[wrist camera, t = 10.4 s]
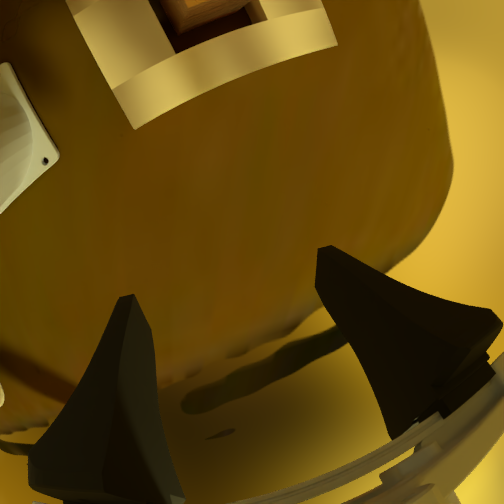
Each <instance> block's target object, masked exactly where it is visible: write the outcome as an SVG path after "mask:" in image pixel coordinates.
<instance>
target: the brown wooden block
mask: <svg viewBox="0 0 504 504" xmlns="http://www.w3.org/2000/svg"><path fill="white" fill-rule="evenodd" d="M250 1H251V0H159V2H160V4H161V6H162V8H163V9H164V11H165V13H166V15H167V17H168V19H169V21H170V22H171V24H172V26H173V28H174V30H175V32H176V34H177V36H179V35H181V34H183V33H186V32H188V31H190V30H193V29H195V28H197V27H200V26H202V25H205V24H207V23H210V22H212V21H215V20H218V19H221V18H223V17H226V16H229V15H232V14H234V13H236V12H237V11H238V10H239V9H241V8H242V7H243V6H245V5H246V4H247V3H248V2H250Z"/></svg>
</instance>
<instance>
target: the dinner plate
mask: <svg viewBox="0 0 504 504" xmlns="http://www.w3.org/2000/svg"><path fill="white" fill-rule="evenodd" d="M3 402H4V392H3V388H2V386H1V383H0V407H1V406H2V404H3Z"/></svg>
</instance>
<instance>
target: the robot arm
mask: <svg viewBox="0 0 504 504" xmlns="http://www.w3.org/2000/svg"><path fill="white" fill-rule="evenodd" d="M44 157H46V158H48V160H49V162H48V164H46V163H45V162H44ZM58 159H59V151H58V149H57V148H56V146H55V144H54V143H53V141H52V139H51V138H50V136H49V135H48V133H47V131H46V130H45V128H44V126H43V124H42V123H41V121H40V119H39V118H38V116H37V114H36V112H35V110H34V109H33V107H32V105H31V103H30V101H29V100H28V98H27V96H26V94H25V92H24V90H23V88H22V86H21V84H20V82H19V80H18V78H17V76H16V74H15V72H14V70H13V68H12V66H11V64H10V63H8V62H5V63H2V64H1V65H0V214H1V213H2V212H3V211H4V210H5V209H6V208H7V206H8V205H9V204H10V203H11V202H12V201H13V200H14V199H15V198H16V197H17V196H18V195H20V194H21V193H22V192H23V191H24V190H25V189H26V188H27V187H28V186H29V185H30V184H31V183H32V182H33V181H34V180H36V179H37V178H38V177H39V176H40V175H41V174H42V173H44V172H45V171H46V170H47V169H48V168H49V167H51V166H52V165H53V164H54V163H55V162H56V161H57V160H58ZM315 288H316V290H317V293H318V295H319V297H320V299H321V301H322V303H323V305H324V307H325V308H326V310H327V311H328V312H329V314H330V316H331V317H332V319H333V320H334V322H335V323H336V325H337V326H338V328H339V329H340V331H341V332H342V334H343V335H344V337H345V338H346V339H347V341H348V342H349V344H350V345H351V347H352V349H353V350H354V352H355V354H356V356H357V357H358V359H359V361H360V363H361V365H362V367H363V369H364V372H365V374H366V376H367V378H368V380H369V383H370V385H371V387H372V389H373V392H374V394H375V397H376V399H377V402H378V404H379V407H380V410H381V413H382V415H383V418H384V421H385V424H386V428H387V431H388V434H389V436H390V438H391V439H392V441H391V442H389V443H387V444H386V445H384V446H382V447H381V448H378V449H376V450H375V451H373V452H371V453H369V454H367V455H365V456H363V457H361V458H359V459H357V460H355V461H353V462H351V463H348V464H346V465H344V466H342V467H340V468H337V469H335V470H333V471H331V472H328V473H326V474H324V475H321V476H318V477H316V478H313V479H311V480H308V481H305V482H303V483H300V484H297V485H294V486H291V487H288V488H285V489H282V490H278V491H275V492H272V493H268V494H265V495H262V496H258V497H253V498H250V499H245V500H241V501H237V502H232V503H227V504H297V503H300V502H303V501H305V500H308V499H311V498H314V497H316V496H319V495H321V494H324V493H326V492H329V491H331V490H333V489H335V488H338V487H340V486H343V485H345V484H347V483H349V482H351V481H353V480H355V479H357V478H359V477H361V476H363V475H365V474H367V473H369V472H371V471H373V470H375V469H377V468H379V467H380V466H382V465H384V464H386V463H387V462H389V461H391V460H393V459H394V458H396V457H398V456H400V455H401V454H403V453H404V452H406V451H407V450H409V449H411V448H412V447H414V446H415V445H416V446H415V448H414V453H413V454H412V455H411V456H409V457H408V458H406V459H404V460H403V461H401V462H400V463H398V464H396V465H395V466H393V467H391V468H389V469H388V470H386V471H384V472H382V473H381V474H380V475H379V477H380V479H381V481H382V483H383V484H381V485H379V486H377V487H375V488H374V489H372V490H370V491H368V492H366V493H364V494H362V495H359V496H358V497H355V498H353V499H351V500H349V501H347V502H344V503H342V504H461V503H460V501H459V499H458V497H457V496H456V494H455V492H454V490H455V489H456V488H457V487H458V486H459V485H460V484H461V483H462V482H463V481H464V480H465V478H466V477H467V476H468V475H469V474H470V473H471V472H472V471H473V470H474V469H475V468H476V467H477V465H478V464H479V463H480V462H481V461H482V459H483V458H484V457H485V456H486V455H487V453H488V452H489V451H490V450H491V448H492V447H493V446H494V445H495V444H496V442H497V441H498V440H499V438H500V437H501V436H502V434H503V433H504V352H503V353H502V354H501V355H500V356H499V357H498V358H497V359H496V360H495V361H494V362H493V363H492V364H491V365H490V364H489V363H488V362H487V360H489V358H490V357H489V355H488V354H487V352H486V351H487V349H488V348H489V347H490V345H491V344H492V343H493V341H494V340H495V339H496V337H497V336H498V334H499V333H500V331H501V329H502V327H503V322H502V321H501V320H500V319H499V318H498V317H497V315H496V314H495V313H494V312H493V311H492V310H491V309H488V308H481V307H475V306H469V305H465V304H460V303H456V302H452V301H449V300H445V299H442V298H439V297H436V296H433V295H430V294H427V293H424V292H421V291H419V290H417V289H414V288H412V287H410V286H407V285H405V284H403V283H400V282H398V281H396V280H394V279H392V278H390V277H388V276H386V275H385V274H383V273H381V272H379V271H377V270H375V269H373V268H372V267H370V266H368V265H366V264H364V263H363V262H361V261H359V260H357V259H356V258H354V257H352V256H350V255H349V254H347V253H345V252H343V251H341V250H340V249H338V248H336V247H334V246H332V245H330V246H326V247H322V248H318V253H317V266H316V278H315ZM28 481H29V482H28V483H29V486H30V487H31V488H32V489H33V490H35V491H37V492H40V493H42V494H45V495H48V496H51V497H54V498H57V499H60V500H63V504H183V503H184V502H185V500H186V498H185V496H184V493H183V491H182V488H181V486H180V483H179V480H178V478H177V475H176V472H175V469H174V466H173V463H172V460H171V456H170V453H169V449H168V446H167V442H166V438H165V434H164V430H163V426H162V421H161V417H160V413H159V405H158V395H157V380H156V364H155V351H154V344H153V338H152V332H151V328H150V326H149V324H148V322H147V320H146V318H145V316H144V314H143V312H142V310H141V308H140V306H139V303H138V301H137V299H136V297H135V295H134V294H131V295H127V296H123V297H119V299H118V301H117V303H116V305H115V308H114V310H113V312H112V315H111V317H110V319H109V322H108V324H107V326H106V329H105V331H104V333H103V335H102V338H101V340H100V342H99V345H98V347H97V349H96V351H95V353H94V355H93V357H92V359H91V361H90V363H89V365H88V367H87V369H86V371H85V373H84V375H83V377H82V379H81V380H80V382H79V384H78V386H77V388H76V389H75V391H74V392H73V394H72V395H71V397H70V399H69V400H68V402H67V403H66V405H65V406H64V408H63V409H62V411H61V412H60V414H59V415H58V416H57V418H56V419H55V421H54V422H53V423H52V424H51V426H50V427H49V428H48V430H47V431H46V432H45V433H44V434H43V436H42V437H41V438H40V439H39V440H38V441H37V442H36V444H35V445H34V446H33V447H32V448H31V449H30V450H29V451H28ZM33 504H46V503H41V502H36V501H34V502H33Z"/></svg>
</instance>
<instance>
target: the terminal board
mask: <svg viewBox="0 0 504 504" xmlns="http://www.w3.org/2000/svg"><path fill="white" fill-rule="evenodd" d="M65 1H66V3H67V5H68V7H69V9H70V11H71V13H72V15H73V17H74V19H75V21H76V23H77V25H78V27H79V29H80V31H81V33H82V35H83V37H84V39H85V41H86V43H87V45H88V47H89V49H90V50H91V52H92V54H93V56H94V58H95V60H96V62H97V64H98V66H99V67H100V69H101V71H102V73H103V75H104V77H105V78H106V80H107V82H108V84H109V86H110V88H111V89H112V91H113V93H114V95H115V97H116V98H117V100H118V102H119V104H120V105H121V107H122V109H123V111H124V113H125V114H126V116H127V118H128V120H129V121H130V123H131V125H132V127H133V128H134V130H135V129H137V128H138V127H140V126H142V125H143V124H145V123H147V122H149V121H150V120H152V119H154V118H156V117H157V116H159V115H161V114H163V113H165V112H166V111H168V110H170V109H172V108H174V107H176V106H178V105H180V104H182V103H184V102H186V101H188V100H190V99H192V98H194V97H196V96H198V95H200V94H202V93H204V92H206V91H208V90H210V89H213V88H215V87H217V86H219V85H222V84H224V83H226V82H229V81H231V80H233V79H236V78H238V77H241V76H243V75H246V74H248V73H251V72H253V71H256V70H259V69H261V68H264V67H267V66H270V65H272V64H275V63H278V62H281V61H284V60H287V59H290V58H294V57H297V56H300V55H303V54H307V53H310V52H314V51H318V50H321V49H325V48H329V47H333V46H337V45H338V44H337V41H336V38H335V35H334V33H333V30H332V27H331V25H330V22H329V19H328V17H327V14H326V12H325V9H324V7H323V5H322V2H321V0H251V1H250V2H248V3H247V4H246V5H245V6H244V7H245V10H246V12H247V14H248V16H249V18H250V20H251V22H252V24H253V25H250V26H247V27H244V28H241V29H238V30H235V31H232V32H229V33H226V34H223V35H221V36H218V37H216V38H213V39H210V40H208V41H205V42H203V43H201V44H198V45H196V46H194V47H191V48H189V49H187V50H185V51H182V52H180V53H178V54H175V52H174V50H173V48H172V46H171V44H170V42H169V40H168V38H167V36H166V34H165V32H164V30H163V28H162V26H161V25H160V23H159V21H158V19H157V17H156V15H155V13H154V11H153V9H152V7H151V5H150V4H149V2H148V0H65Z"/></svg>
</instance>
